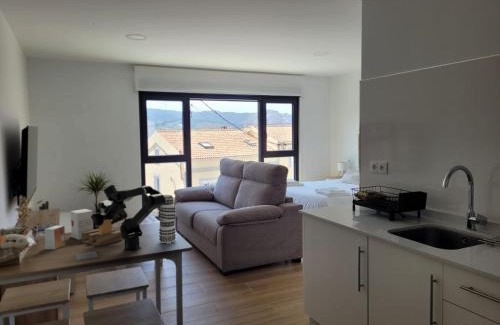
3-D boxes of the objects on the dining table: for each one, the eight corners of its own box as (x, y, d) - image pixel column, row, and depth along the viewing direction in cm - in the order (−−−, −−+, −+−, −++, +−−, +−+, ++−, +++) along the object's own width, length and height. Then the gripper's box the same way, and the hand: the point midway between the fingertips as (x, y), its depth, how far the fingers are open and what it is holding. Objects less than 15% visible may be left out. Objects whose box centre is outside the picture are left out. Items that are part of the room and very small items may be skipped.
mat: (95, 252, 184) (95, 251, 184) (97, 257, 176) (97, 256, 176) (75, 255, 180) (75, 254, 180) (76, 260, 172) (76, 259, 172)
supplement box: (71, 237, 212) (69, 210, 210) (86, 233, 218) (85, 208, 217) (77, 240, 206) (76, 213, 204) (93, 236, 212) (92, 210, 211)
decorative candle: (155, 243, 198) (154, 196, 196) (163, 238, 207) (162, 193, 205) (171, 244, 196) (170, 197, 194) (179, 239, 205) (177, 194, 203)
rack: (122, 240, 204) (122, 231, 204) (99, 246, 193) (98, 237, 192) (105, 235, 213) (104, 227, 213) (81, 241, 202) (81, 232, 202)
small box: (54, 250, 188) (53, 229, 187) (45, 249, 189) (44, 228, 188) (65, 245, 196) (64, 225, 195) (56, 244, 197) (55, 225, 196)
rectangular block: (111, 239, 203) (111, 217, 202) (102, 241, 198) (101, 219, 197) (109, 238, 204) (108, 216, 203) (99, 241, 199) (98, 218, 198)
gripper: (123, 193, 205) (112, 211, 212) (92, 198, 189) (80, 217, 197) (133, 209, 201) (121, 226, 208) (101, 215, 185) (90, 234, 193)
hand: (103, 225), depth 201 cm, fingers open, 9 cm apart
